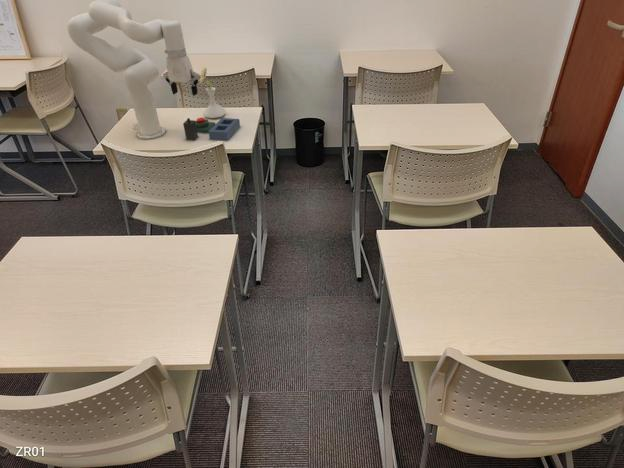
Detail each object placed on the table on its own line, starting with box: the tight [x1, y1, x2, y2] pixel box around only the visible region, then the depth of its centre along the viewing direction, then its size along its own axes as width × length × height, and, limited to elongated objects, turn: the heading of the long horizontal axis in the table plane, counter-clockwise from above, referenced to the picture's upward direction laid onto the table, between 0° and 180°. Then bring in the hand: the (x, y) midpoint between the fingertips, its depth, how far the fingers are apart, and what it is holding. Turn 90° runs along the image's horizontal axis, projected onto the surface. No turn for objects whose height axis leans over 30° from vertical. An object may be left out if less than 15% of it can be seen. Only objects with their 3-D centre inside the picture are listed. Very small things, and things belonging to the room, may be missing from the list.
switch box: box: [194, 118, 216, 134], centre depth 228 cm, size 10×9×4 cm
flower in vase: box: [198, 67, 227, 119], centre depth 234 cm, size 13×11×25 cm
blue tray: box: [208, 117, 241, 142], centre depth 223 cm, size 9×16×4 cm, turn 166°
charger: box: [182, 117, 199, 142], centre depth 218 cm, size 4×4×10 cm
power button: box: [196, 117, 206, 124], centre depth 227 cm, size 4×4×2 cm
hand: (185, 93), depth 209 cm, fingers open, 9 cm apart
